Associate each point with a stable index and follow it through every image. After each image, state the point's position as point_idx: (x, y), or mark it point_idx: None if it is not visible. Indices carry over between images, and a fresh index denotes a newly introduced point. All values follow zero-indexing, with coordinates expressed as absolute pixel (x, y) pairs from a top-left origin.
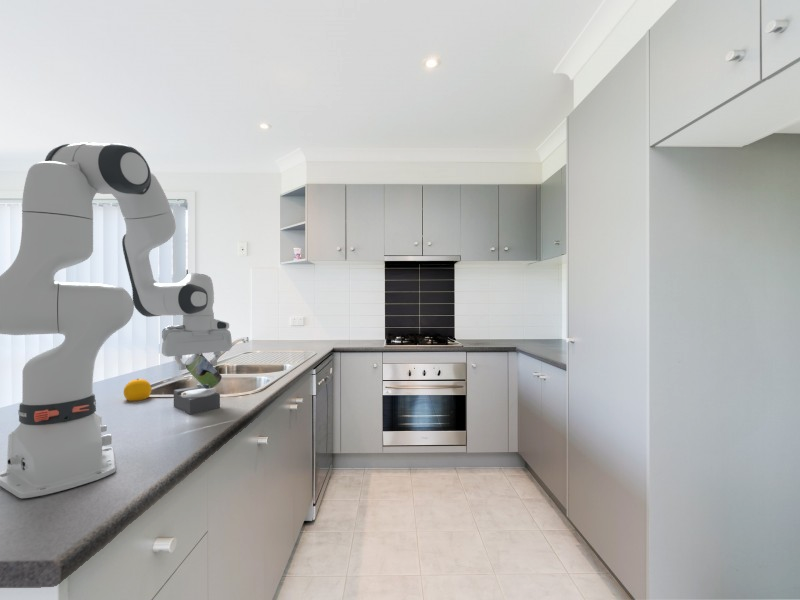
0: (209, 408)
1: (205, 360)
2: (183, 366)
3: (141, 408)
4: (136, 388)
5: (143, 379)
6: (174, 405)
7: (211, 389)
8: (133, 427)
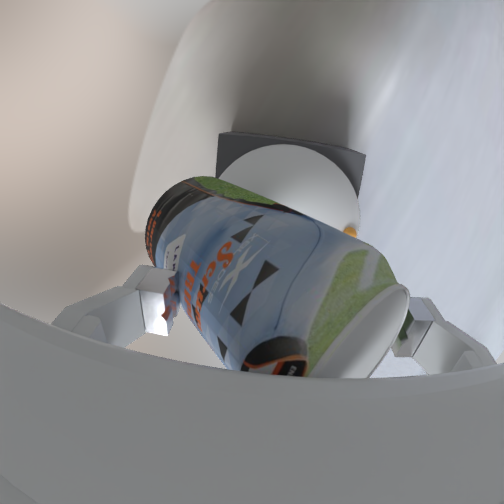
0: (273, 136)
1: (263, 276)
2: (424, 308)
3: None
4: None
5: None
6: None
7: None
8: (480, 183)
